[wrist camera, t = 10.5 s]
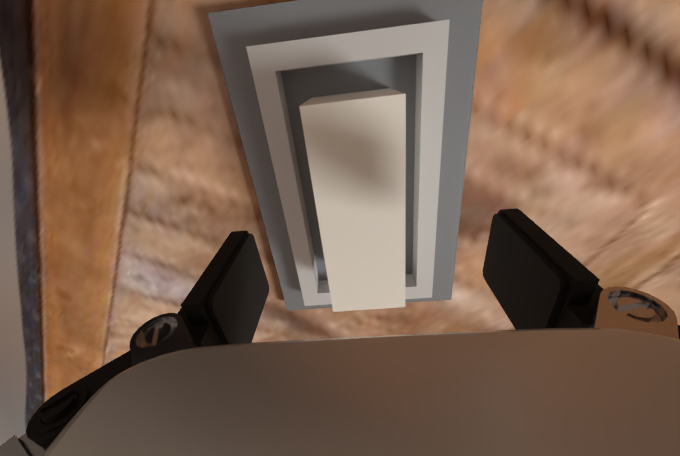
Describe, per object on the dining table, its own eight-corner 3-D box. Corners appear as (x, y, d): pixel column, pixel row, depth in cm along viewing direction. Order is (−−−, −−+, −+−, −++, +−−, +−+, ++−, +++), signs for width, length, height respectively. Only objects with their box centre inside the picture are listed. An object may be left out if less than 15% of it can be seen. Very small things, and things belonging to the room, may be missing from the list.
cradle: (215, 16, 15) (193, 7, 13) (477, -21, 14) (500, -38, 12) (289, 302, 25) (283, 323, 23) (447, 291, 24) (457, 312, 22)
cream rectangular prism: (311, 97, 16) (299, 106, 12) (389, 88, 16) (405, 93, 12) (335, 264, 22) (333, 311, 18) (393, 260, 22) (405, 306, 17)
